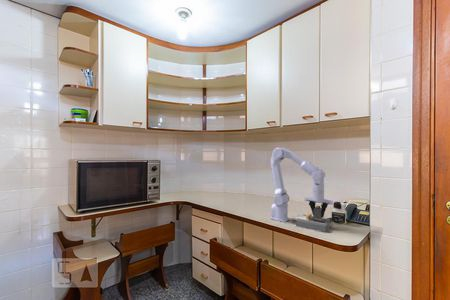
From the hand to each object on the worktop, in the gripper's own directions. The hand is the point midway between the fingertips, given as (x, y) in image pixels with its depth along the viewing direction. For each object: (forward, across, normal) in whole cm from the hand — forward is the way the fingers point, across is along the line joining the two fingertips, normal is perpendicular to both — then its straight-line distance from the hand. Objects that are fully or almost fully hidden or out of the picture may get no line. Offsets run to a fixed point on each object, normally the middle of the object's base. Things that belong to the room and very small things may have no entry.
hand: (318, 215), depth 122 cm
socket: (+6, +2, 0) cm, 7 cm away
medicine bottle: (+6, -8, -16) cm, 19 cm away
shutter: (+3, +8, 0) cm, 9 cm away
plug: (+2, 0, 0) cm, 2 cm away
